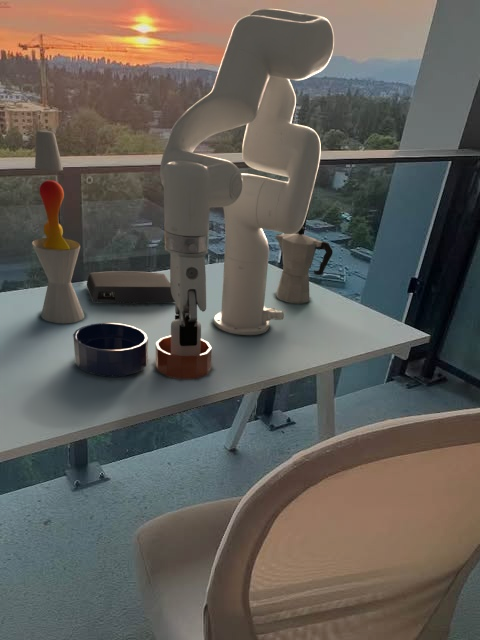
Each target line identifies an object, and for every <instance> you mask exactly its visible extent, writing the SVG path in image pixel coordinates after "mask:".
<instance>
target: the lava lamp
mask: <svg viewBox="0 0 480 640" xmlns="http://www.w3.org/2000/svg"><path fill="white" fill-rule="evenodd" d="M34 168H35V169H37V170H41V171H47V172H61V171H64V168H63V163H62V159H61V155H60V151H59V146H58V142H57V137H56V135H55V132H54V131H51V130H46V129H41V130H40V129H39V130H37V131H36V137H35V160H34ZM39 195H40V197H41V200H42V203H43V207H44V209H45V212H46V218H47V222H46V223H44V225H43V233H44V235H45V237H42V238H37V239H34V240H32V242H31V245H32V247H33V250H34V252H35V254H36V256H37V258H38V260H39V263H40V265H41V267H42V270H43V271H44V273H45V275H46V277H47V280H48V282H47V287H46V292H45V297H44V300H43V306H42V310H41V314H40V315H41V318H42V319H43V320H44V321H47V322H50V323H54V324H72V323H78V322H81V321H82V320H83V319H84V318H85V317H86V316H85V313H84V311H83V308H82V305H81V304H80V301H79V299H78V296H77V293H76V291H75V288H74V286H73V284H72V278H73V275H74V270H75V267H76V264H77V260H78V256H79V253H80V250H81V244H80V243H79V242H77V241H75V240H72V239H68V238H64V237H63V233H64V229H63V226H62V225H61V224H60V223H59V214H60V209H61V206H62V203H63V200H64V198H65V191H64V189H63V187H62V185H61V184H60V183H59V182H57V181H55V180H53V179H52V180H51V179H48V180H44V181H43V182H42V183H41V184H40V186H39Z"/></svg>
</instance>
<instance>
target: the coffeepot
mask: <svg viewBox="0 0 480 640" xmlns="http://www.w3.org/2000/svg"><path fill="white" fill-rule="evenodd" d="M304 231H305V227H304V226H302V228H301V229H300V230H299V231H298V232H297V233H294V234H286V233H278V234H276V235H274V238H275V239H276V240H277V242H278V245H279V247H280V249H281V252H282V265H283V267H282V271H281V274H280V278H279V281H278V282H279V283H278V285H277V288H276V289H277V290H276V298H277V299H278V300H280V301H282V302H285V303H289V304H296V305H297V304H299V305H300V304H306V303H308V302H310V299H311V298H310V269H311V268H312V265H313V261H314V257H315V254H316V250H324V251H325V253H324V255H323V258H322V261H321V263H320V264H319V268H318V270H313V273H314V275H317V276H321V275H323V273H324V271H325V269H326V267H327V265H328V264H329V262H330V260H331V258H332V256H333V249H332V247H331V245H330V243H329V242H327V241H323V240H318V239H316V238H314V237H312V236H309V235H306V234H304Z"/></svg>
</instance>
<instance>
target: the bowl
mask: <svg viewBox="0 0 480 640" xmlns="http://www.w3.org/2000/svg"><path fill="white" fill-rule="evenodd" d="M72 339H73V350H74V360H75V361H74V362H75V365H76V366H77V367H78V368H79V369H81V370H83V371H85V372H86V373H90V374H92V375H96V376H101V377H111V378H113V377H115V378H116V377H117V378H118V377H124V376H125V377H126V376H130V375H133V374H136V373H139V372H141V371H142V370H144V369H145V368H146V367H147V365H148V363H149V343H148V342H149V339H148V335H147V333H146V332H144V331H143V330H142V329H140V328H138V327H135V326H133V325H128V324H124V323H116V322H98V323H91V324H87V325H83V326H81V327H80V328H78V329H75V331H74V332H73V334H72Z"/></svg>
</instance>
